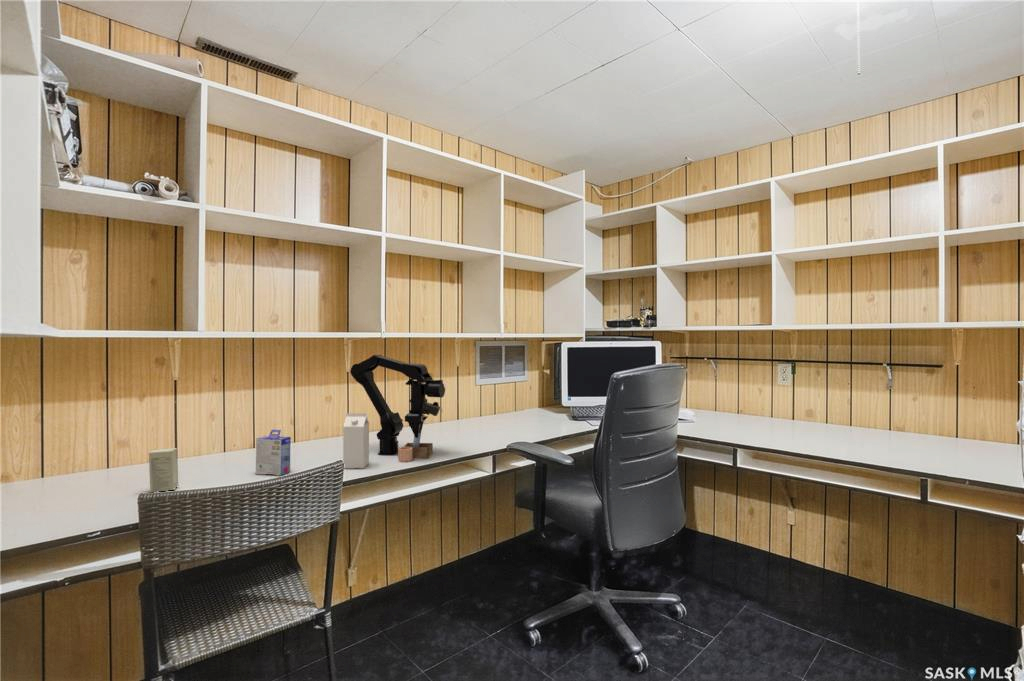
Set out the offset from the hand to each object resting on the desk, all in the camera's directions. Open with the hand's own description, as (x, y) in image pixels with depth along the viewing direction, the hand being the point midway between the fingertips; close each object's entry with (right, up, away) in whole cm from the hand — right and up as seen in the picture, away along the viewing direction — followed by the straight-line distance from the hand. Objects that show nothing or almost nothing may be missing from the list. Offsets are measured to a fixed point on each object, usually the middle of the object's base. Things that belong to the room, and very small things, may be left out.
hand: (417, 436), depth 195 cm
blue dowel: (-1, -8, 0) cm, 8 cm away
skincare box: (-68, -8, -45) cm, 82 cm away
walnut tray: (0, -8, 0) cm, 8 cm away
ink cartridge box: (-44, -8, -26) cm, 52 cm away
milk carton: (-19, -8, -16) cm, 26 cm away
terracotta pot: (-3, -8, -8) cm, 11 cm away
